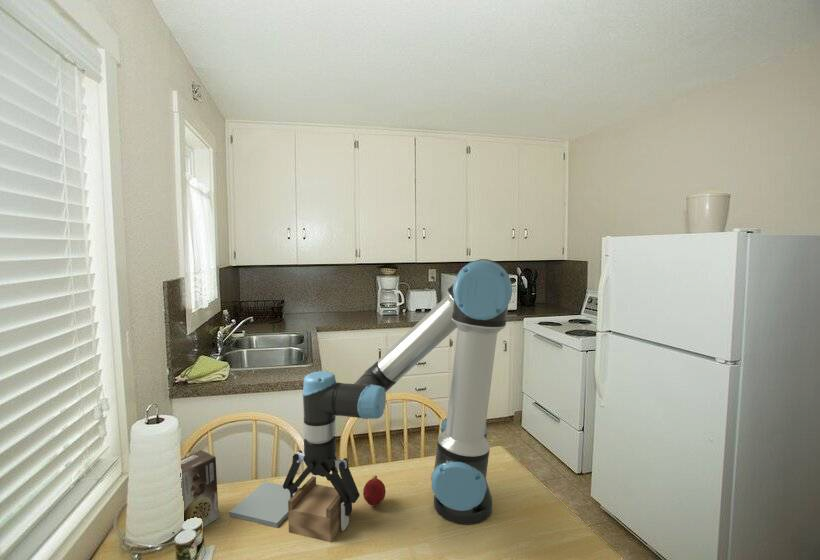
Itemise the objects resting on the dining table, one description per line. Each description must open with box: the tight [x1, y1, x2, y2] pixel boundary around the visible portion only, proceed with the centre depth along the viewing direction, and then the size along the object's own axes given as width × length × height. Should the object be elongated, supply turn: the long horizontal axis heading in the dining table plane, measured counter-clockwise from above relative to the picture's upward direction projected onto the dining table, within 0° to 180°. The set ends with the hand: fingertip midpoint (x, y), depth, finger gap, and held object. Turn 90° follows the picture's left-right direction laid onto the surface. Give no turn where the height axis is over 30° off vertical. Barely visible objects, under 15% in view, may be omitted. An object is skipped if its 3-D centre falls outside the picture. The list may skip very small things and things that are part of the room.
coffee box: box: [180, 449, 219, 528], centre depth 99 cm, size 9×6×16 cm
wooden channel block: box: [287, 475, 343, 543], centre depth 100 cm, size 11×11×8 cm
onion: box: [362, 474, 387, 507], centre depth 107 cm, size 6×6×8 cm
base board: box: [228, 481, 290, 529], centre depth 107 cm, size 14×14×1 cm
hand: (320, 521), depth 101 cm, fingers open, 12 cm apart
